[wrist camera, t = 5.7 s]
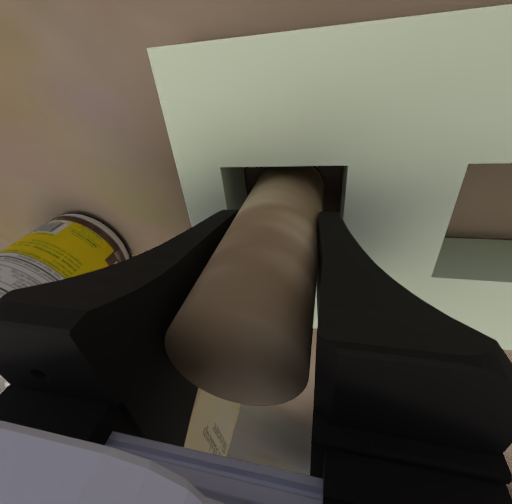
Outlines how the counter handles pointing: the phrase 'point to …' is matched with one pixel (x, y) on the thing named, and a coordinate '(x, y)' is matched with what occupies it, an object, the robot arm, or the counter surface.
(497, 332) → the board
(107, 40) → the counter surface
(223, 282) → the dowel
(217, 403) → the skincare box
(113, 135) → the counter surface
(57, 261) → the supplement bottle
